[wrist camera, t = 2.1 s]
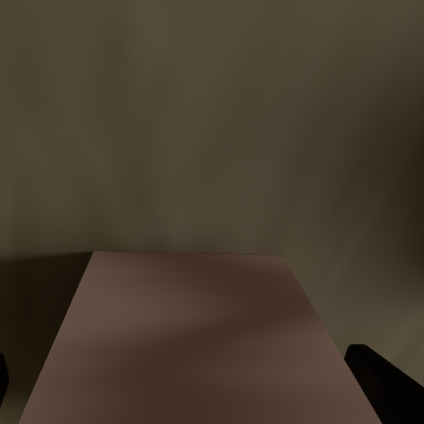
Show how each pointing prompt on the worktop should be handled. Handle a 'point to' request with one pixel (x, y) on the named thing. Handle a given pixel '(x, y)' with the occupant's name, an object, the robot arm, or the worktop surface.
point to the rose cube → (194, 347)
